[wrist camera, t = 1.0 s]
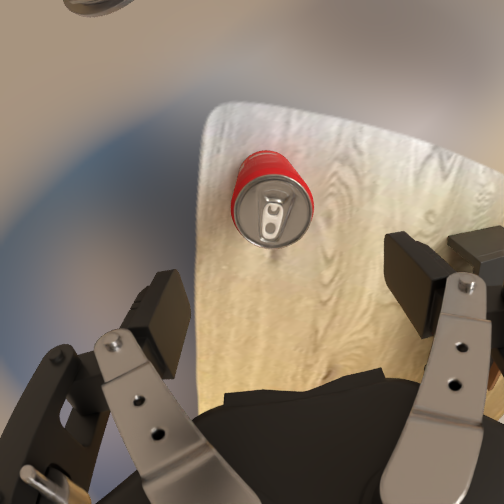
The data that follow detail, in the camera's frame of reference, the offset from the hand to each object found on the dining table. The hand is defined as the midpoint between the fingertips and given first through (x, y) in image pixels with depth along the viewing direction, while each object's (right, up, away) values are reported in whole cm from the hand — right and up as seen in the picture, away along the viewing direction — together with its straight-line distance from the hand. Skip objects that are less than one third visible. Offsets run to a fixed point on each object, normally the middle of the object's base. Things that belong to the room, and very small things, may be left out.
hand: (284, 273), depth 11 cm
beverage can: (0, +8, +18) cm, 20 cm away
